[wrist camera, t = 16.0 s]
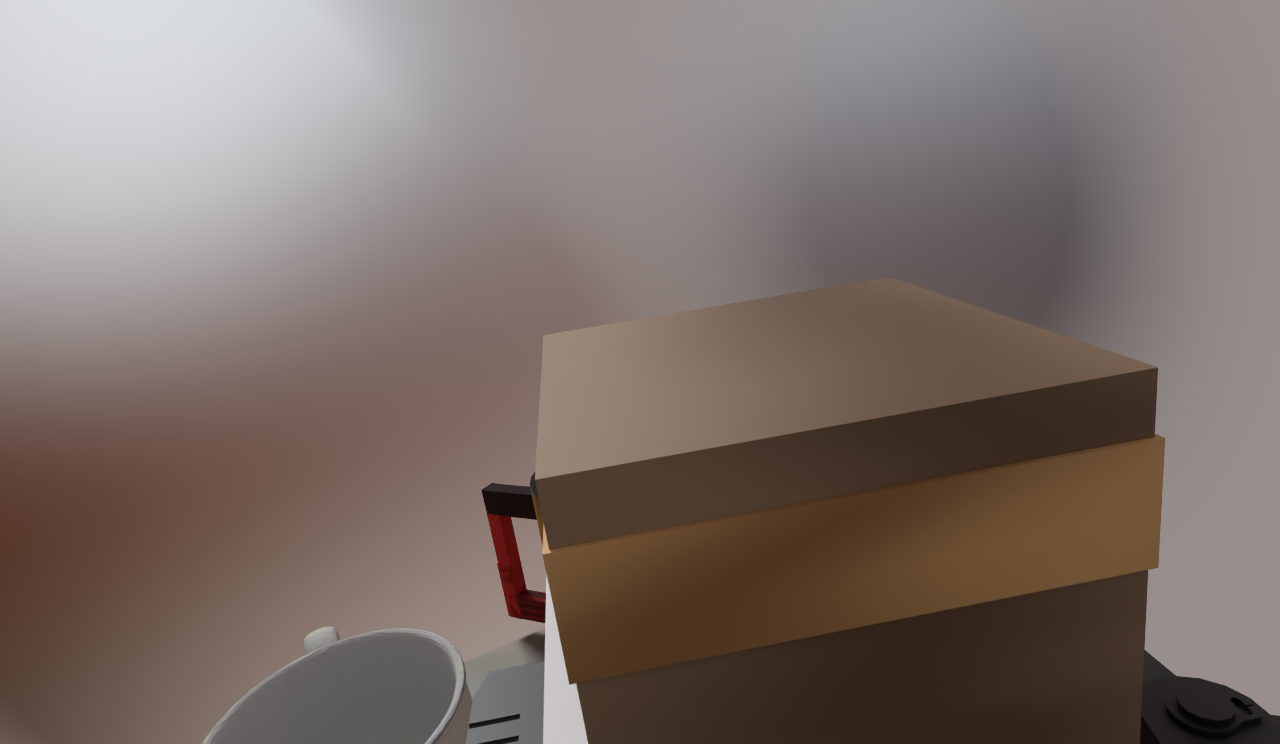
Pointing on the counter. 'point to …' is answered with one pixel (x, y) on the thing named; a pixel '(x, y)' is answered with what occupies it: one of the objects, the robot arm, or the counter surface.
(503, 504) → the mug
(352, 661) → the teacup
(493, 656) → the counter surface
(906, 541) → the link block
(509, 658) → the counter surface
